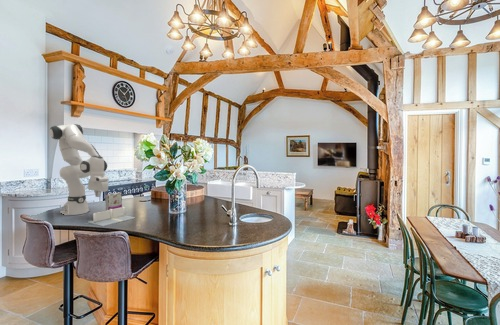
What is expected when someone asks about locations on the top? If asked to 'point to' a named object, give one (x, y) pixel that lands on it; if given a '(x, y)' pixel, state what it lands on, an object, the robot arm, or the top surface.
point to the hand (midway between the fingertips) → (97, 196)
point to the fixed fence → (117, 212)
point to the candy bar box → (113, 201)
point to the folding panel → (101, 215)
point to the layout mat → (111, 220)
